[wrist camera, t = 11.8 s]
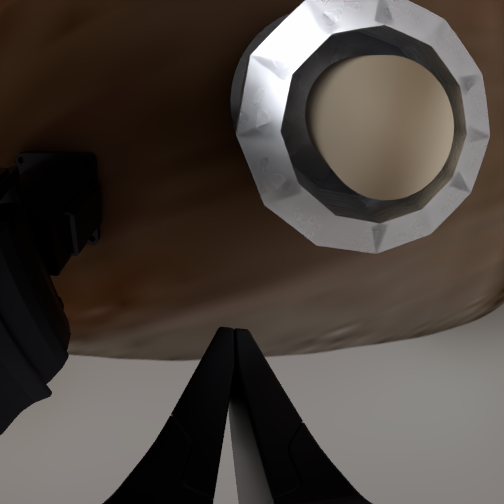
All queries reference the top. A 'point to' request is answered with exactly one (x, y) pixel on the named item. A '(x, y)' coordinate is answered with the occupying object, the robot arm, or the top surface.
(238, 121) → the canister
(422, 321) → the top surface
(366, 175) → the lid
